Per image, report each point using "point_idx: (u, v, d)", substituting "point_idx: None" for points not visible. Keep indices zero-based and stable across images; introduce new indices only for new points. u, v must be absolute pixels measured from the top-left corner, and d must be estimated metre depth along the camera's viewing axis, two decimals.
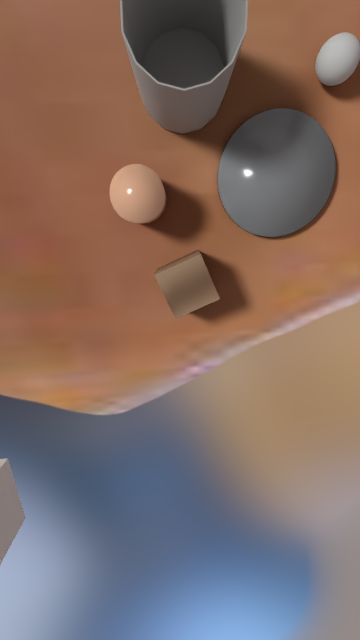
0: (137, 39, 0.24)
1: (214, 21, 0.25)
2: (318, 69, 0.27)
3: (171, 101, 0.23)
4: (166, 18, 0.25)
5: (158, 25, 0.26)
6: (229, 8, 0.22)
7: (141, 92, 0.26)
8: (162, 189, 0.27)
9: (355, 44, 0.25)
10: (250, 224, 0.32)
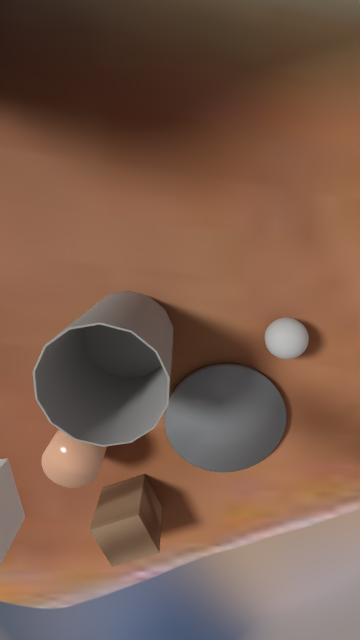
0: (72, 333, 0.23)
1: None
2: (266, 345, 0.26)
3: None
4: (107, 300, 0.24)
5: None
6: None
7: (78, 368, 0.25)
8: (97, 461, 0.26)
9: (301, 340, 0.24)
10: (198, 460, 0.31)
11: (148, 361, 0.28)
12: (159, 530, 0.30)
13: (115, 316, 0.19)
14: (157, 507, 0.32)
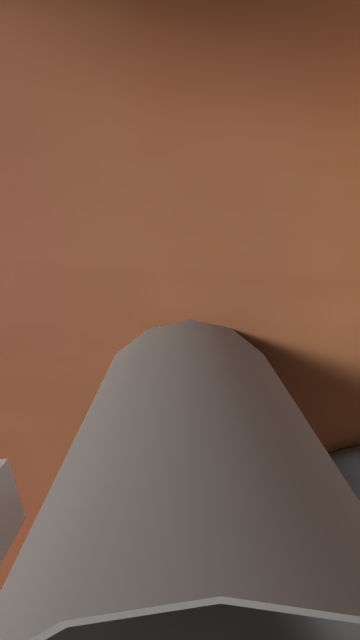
0: None
1: None
2: None
3: None
4: None
5: None
6: None
7: None
8: None
9: None
10: None
11: None
12: None
13: (236, 475, 0.05)
14: None
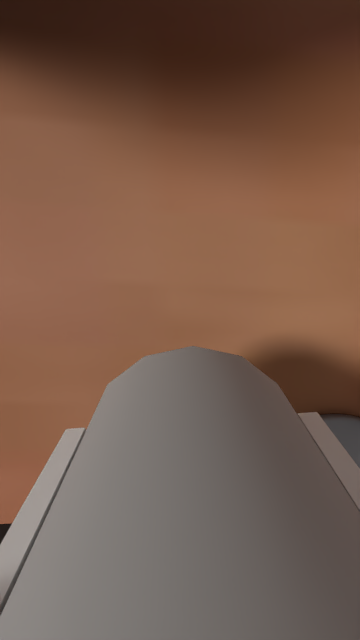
0: None
1: None
2: None
3: None
4: None
5: None
6: None
7: None
8: None
9: None
10: None
11: None
12: None
13: (273, 637, 0.03)
14: None
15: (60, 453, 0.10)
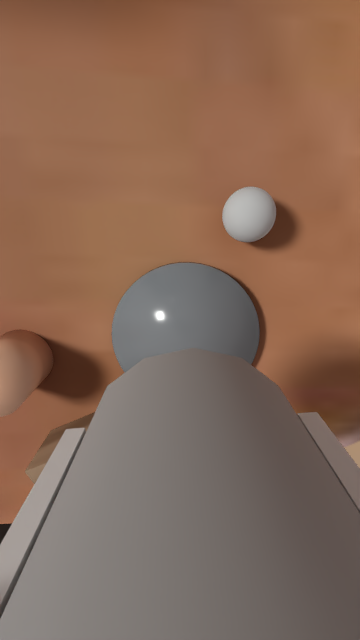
0: None
1: None
2: (224, 226, 0.21)
3: None
4: None
5: None
6: None
7: None
8: (21, 381, 0.21)
9: (265, 207, 0.19)
10: None
11: None
12: None
13: None
14: None
15: (60, 453, 0.10)
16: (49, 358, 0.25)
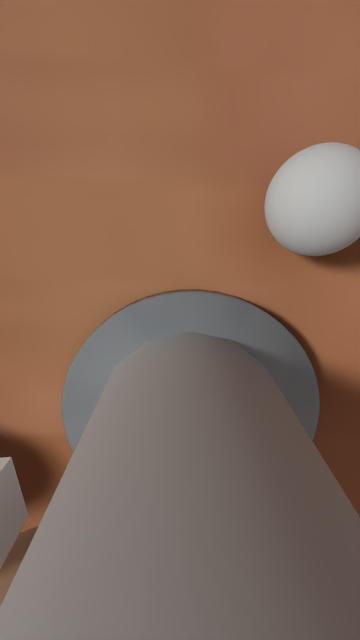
0: None
1: None
2: (269, 224, 0.10)
3: None
4: None
5: None
6: None
7: None
8: None
9: None
10: None
11: None
12: None
13: (236, 504, 0.05)
14: None
15: None
16: None
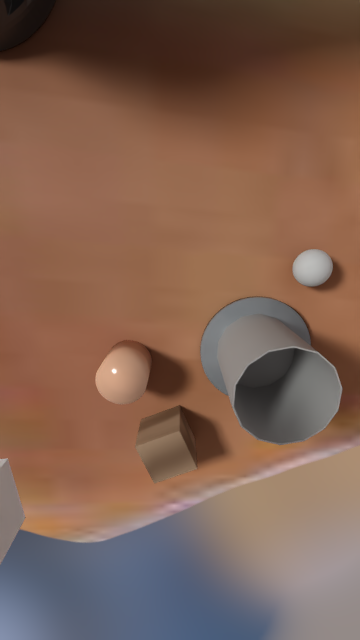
0: None
1: None
2: (294, 274, 0.29)
3: None
4: None
5: None
6: (315, 356, 0.25)
7: None
8: (145, 378, 0.29)
9: (327, 265, 0.27)
10: None
11: (272, 373, 0.32)
12: (195, 453, 0.33)
13: (291, 339, 0.23)
14: (191, 436, 0.35)
15: None
16: (151, 363, 0.33)
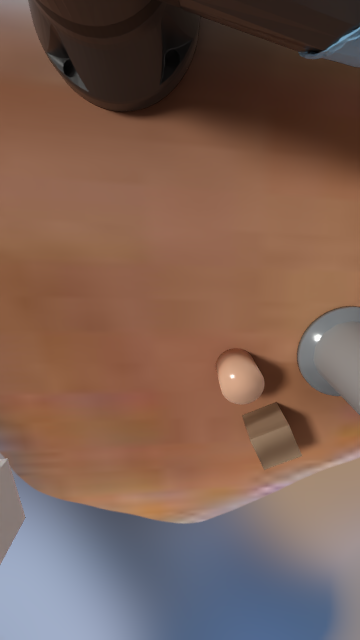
0: None
1: None
2: None
3: None
4: None
5: None
6: None
7: (329, 380, 0.35)
8: (263, 382, 0.34)
9: None
10: (323, 387, 0.39)
11: None
12: None
13: None
14: None
15: None
16: None
